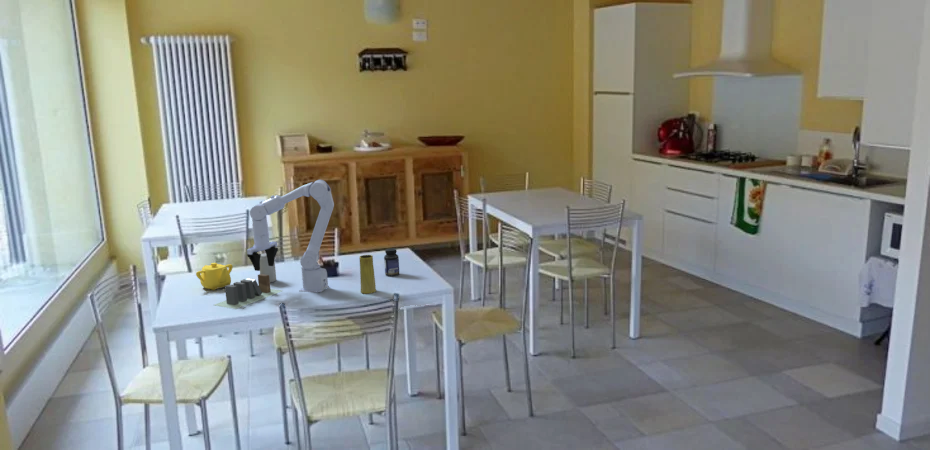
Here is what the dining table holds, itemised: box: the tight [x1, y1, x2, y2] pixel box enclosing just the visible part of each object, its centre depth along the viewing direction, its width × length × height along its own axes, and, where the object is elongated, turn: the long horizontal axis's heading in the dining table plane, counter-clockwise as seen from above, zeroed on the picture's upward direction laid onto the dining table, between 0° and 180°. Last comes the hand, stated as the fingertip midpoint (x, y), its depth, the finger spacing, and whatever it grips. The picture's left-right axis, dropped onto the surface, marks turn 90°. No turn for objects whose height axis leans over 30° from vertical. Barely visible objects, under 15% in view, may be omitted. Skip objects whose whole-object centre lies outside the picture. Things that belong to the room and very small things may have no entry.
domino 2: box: [232, 281, 247, 302], centre depth 271 cm, size 2×4×7 cm, turn 61°
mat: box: [214, 288, 283, 310], centre depth 276 cm, size 25×12×1 cm, turn 151°
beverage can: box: [259, 252, 277, 284], centre depth 297 cm, size 6×6×12 cm
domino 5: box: [257, 273, 271, 293], centre depth 282 cm, size 2×4×7 cm, turn 61°
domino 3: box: [239, 278, 255, 299], centre depth 275 cm, size 2×4×7 cm, turn 61°
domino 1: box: [224, 284, 239, 305], centre depth 268 cm, size 2×4×7 cm, turn 61°
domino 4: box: [246, 277, 262, 296], centre depth 277 cm, size 2×4×7 cm, turn 61°
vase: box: [359, 254, 377, 295], centre depth 277 cm, size 6×6×14 cm
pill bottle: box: [383, 248, 400, 277], centre depth 301 cm, size 6×6×11 cm
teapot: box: [195, 262, 233, 291], centre depth 292 cm, size 14×13×10 cm
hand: (264, 268), depth 282 cm, fingers open, 7 cm apart
